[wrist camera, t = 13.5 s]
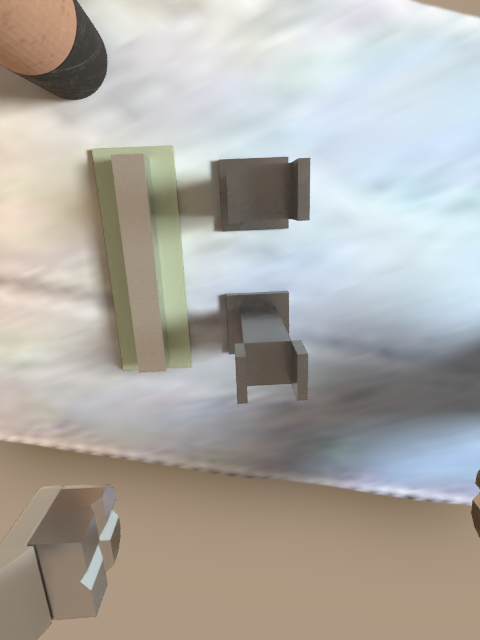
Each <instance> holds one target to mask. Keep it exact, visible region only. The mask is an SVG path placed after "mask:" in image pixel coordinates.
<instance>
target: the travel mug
mask: <svg viewBox="0 0 480 640" xmlns="http://www.w3.org/2000/svg"><path fill="white" fill-rule="evenodd" d="M0 65H2V66H3V67H5V68H6V69H8V70H10V71H12V72H14V73H16V74H17V75H19V76H21V77H23V78H25V79H27V80H29V81H31V82H32V83H34V84H36V85H38V86H40V87H42V88H44V89H46V90H47V91H49V92H51V93H53V94H55V95H57V96H60V97H62V98H66V99H73V100H77V99H82V98H86V97H88V96H90V95H92V94H93V93H94V92H95V91H97V90H98V88H99V87H100V86H101V84H102V82H103V80H104V78H105V75H106V71H107V54H106V49H105V46H104V43H103V41H102V38H101V37H100V35H99V33H98V31H97V30H96V28H95V27H94V25H93V24H92V22H91V21H90V19H89V18H88V16H87V15H86V13H85V12H84V10H83V9H82V7H81V6H80V4H79V3H78V1H77V0H0Z"/></svg>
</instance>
